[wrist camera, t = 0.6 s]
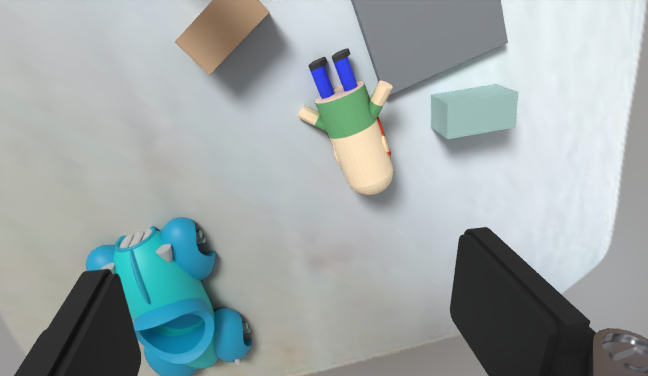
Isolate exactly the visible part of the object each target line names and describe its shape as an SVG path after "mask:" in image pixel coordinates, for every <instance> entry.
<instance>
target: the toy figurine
mask: <svg viewBox="0 0 648 376" xmlns="http://www.w3.org/2000/svg"><path fill="white" fill-rule="evenodd" d="M349 55H350V51H349V49H348V48H347V49H344V50H341V51H339V52H337V53H335V54H334V55H333V56H332V59H333V62H334V65H335V67H336V70H337V73H338V75H339V78H340V81H341V84H342V86H340V87H338V88H336V89H333V88H332V86H331V83H330V80H329V78H328V75H327V72H326V70H325V67H324V65H325V64H326V63H327V60H326V57H322V58H320V59H318V60H315V61H313V62H312V63H311V64H309V68H310V71H311V73H312V76H313V78H314V81H315V83H316V86H317V88H318V91H319V94H320V97H319V98H317V99H316V101H315V103H316V106H317V108H318V111H319V112H317V111H315V110H313V109H311V108H309V107H307V106H305V105H304V106H303V107H302V109H301V111H300V113H299V115H298V118H300V119H302V120H304V121H306V122H308V123H310V124H312V125H314V126H316V127H318V128H320V129H322V130H324V131H326V132H327V133H328V135H329V138H330V140H331V143H332V145H333V148H334V154H335V157H336V159H337V161H338V163H339V164H340V165H341V167H342V170H343V172H344V174H345V177H346V179H347V181H348V183H349V185H350V186H351V187H352V189H354V190H355V191H356V192H358V193H360V194H364V195H374V194H378V193H380V192H382V191H383V190H385V189H386V188H387V187H388V185H389V184H390V182H391V180H392V177H393V166H392V162H391V159H390V156H389V155H391V152H390V149H389V146H388V143H387V140H386V137H385V135H384V132H383V129H382V126H381V123H380V120H379V117H378V115H379V113H380V111H381V109H382V107H383V105H384V104H385V102H386V100H387V98H388V96H389V94H390V92H391V90H392V88H393V87H392V85H390V84H389V83H387V82H385V81H382V80H381V81H379V82H378V84H377V86H376V88H375V90H374V92H373V94H372V96H371V98H369V95H368V92H367V90H366V87H365V84H364V82H362V81H358V82H356V80H355V77H354V74H353V71H352V69H351V66H350V63H349V60H348V56H349Z"/></svg>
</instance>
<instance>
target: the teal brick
mask: <svg viewBox="0 0 648 376" xmlns="http://www.w3.org/2000/svg"><path fill="white" fill-rule="evenodd" d="M517 101H518V92H517V91H514V90H511V89H508V88H506V87H503V86H500V85H497V84H493V85H487V86H481V87H475V88H469V89H463V90H457V91H451V92H445V93H439V94H433V95H431V128H432V129H434V130H435V131H436V132H438V133H439V134H440V135H442V136H443V137H445V138H446V139H453V138H458V137H464V136H470V135H475V134H481V133H487V132H492V131H498V130H504V129H509V128H515V123H516V112H517Z"/></svg>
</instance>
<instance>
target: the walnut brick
mask: <svg viewBox="0 0 648 376" xmlns="http://www.w3.org/2000/svg"><path fill="white" fill-rule="evenodd" d="M268 13H269V11H268V10H267V9H266V8H265V7H264V5H263V4H262V3H261V2H260V1H259V0H213V1H212V2H211V3H210V4H209V5H208V6H207V7H206V8H205V9H204V10H203V12H202V13H201V14H200V15H199V16H198V17H197V18H196V19H195V20H194V21H193V22H192V24H191V25H190V26H189V27H188V28H187V29H186V30H185V31H184V32H183V33H182V34H181V36H180V37H179V38H178V39H177V40H176V41H175V43H176V44H177V45H178V46H179V47H180V48H181V49H182V50H183V51H184V52H185V53H186V54H188V55H189V56H190V57H191V58H192V59H193V60H194V61H195V62H196V63H197V64H198V65H199V66H200V67H201V68H202V69H203V70H204V71H206V72H207V73H208V74H209V75H210V74H211V73H212V72H213V71H214V70H215V69H216V67H217V66H218V65H219V64H220V63H221V62H222V61H223V60H224V59H225V58H226V57H227V56H228V55H229V54H230V53H231V52H232V51H233V50H234V49H235V48H236V47H237V46H238V45H239V43H240V42H241V41H242V40H243V39H244V38H245V37H246V36H247V35H248V34H249V33H250V32H251V31H252V30H253V29H254V28H255V27H256V26H257V25H258V24H259V23H260V22H261V20H262V19H263V18H264V17H265V16H266V15H267V14H268Z"/></svg>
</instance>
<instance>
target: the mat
mask: <svg viewBox="0 0 648 376" xmlns="http://www.w3.org/2000/svg"><path fill="white" fill-rule="evenodd" d="M351 1H352V4H353V7H354V10H355V13H356V16H357V19H358V22H359V25H360V28H361V31H362V34H363V37H364V40H365V43H366V46H367V49H368V52H369V55H370V58H371V61H372V64H373V67H374V70H375V73H376V76H377V79H378V82H379V81H381V80H382V81H385V82H387V83H389V84H390V85H392V87H393V88H392V90H391V92H390V94H389V95H391V94H393V93H396V92H398V91H400V90H402V89H405V88H407V87H409V86H411V85H414V84H416V83H418V82H420V81H423V80H425V79H427V78H429V77H432V76H434V75H436V74H438V73H441V72H443V71H445V70H447V69H450V68H452V67H454V66H456V65H459V64H461V63H463V62H465V61H468V60H470V59H472V58H474V57H477V56H479V55H481V54H483V53H486V52H488V51H490V50H492V49H495V48H497V47H499V46H501V45H504V44H506V43H508V41H507V35H506V29H505V23H504V18H503V12H502V6H501V0H351Z"/></svg>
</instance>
